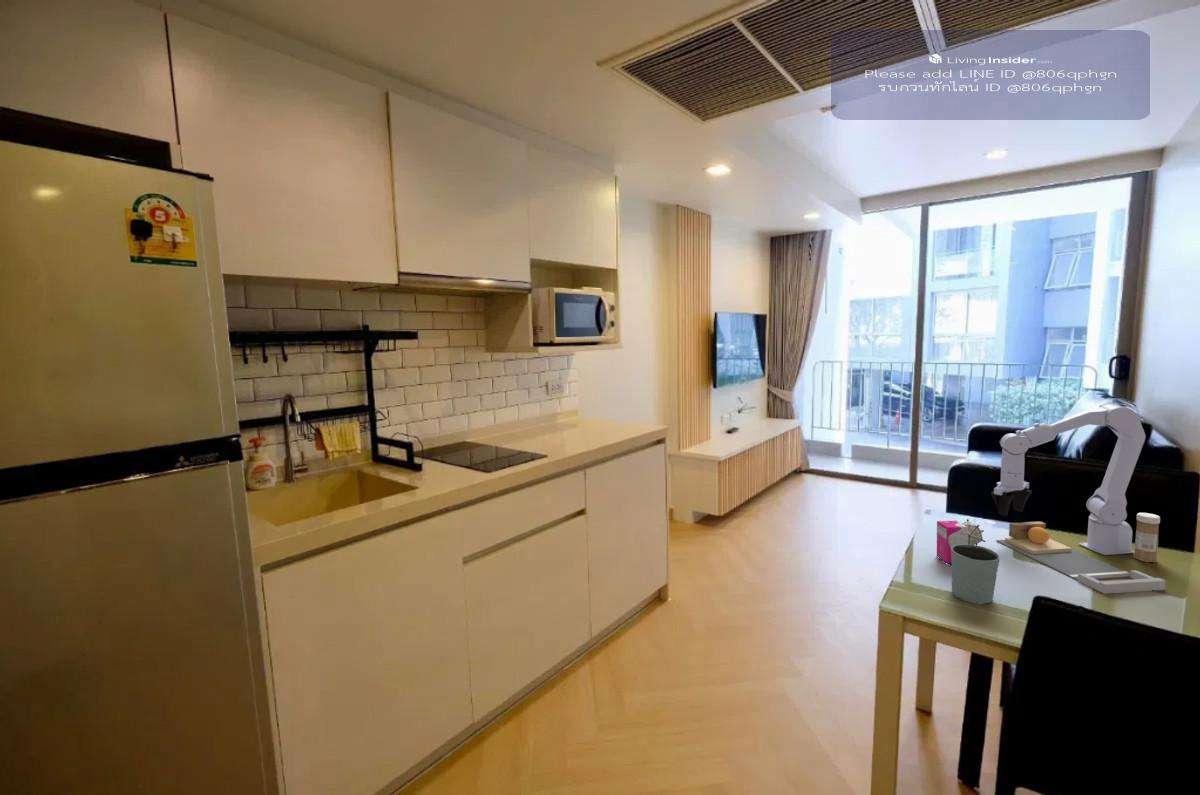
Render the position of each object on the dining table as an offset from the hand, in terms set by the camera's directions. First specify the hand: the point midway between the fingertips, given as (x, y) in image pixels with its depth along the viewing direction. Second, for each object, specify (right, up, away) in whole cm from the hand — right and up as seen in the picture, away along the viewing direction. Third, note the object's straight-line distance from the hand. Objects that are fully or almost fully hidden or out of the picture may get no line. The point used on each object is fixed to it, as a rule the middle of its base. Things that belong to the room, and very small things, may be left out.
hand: (1010, 513), depth 164 cm
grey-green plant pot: (-35, -15, -32) cm, 50 cm away
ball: (+4, -5, -6) cm, 9 cm away
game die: (-15, -10, -2) cm, 19 cm away
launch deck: (+4, -11, -17) cm, 20 cm away
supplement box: (-27, -12, -12) cm, 32 cm away
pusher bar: (+3, -7, -2) cm, 8 cm away
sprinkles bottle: (+25, -10, -17) cm, 32 cm away
